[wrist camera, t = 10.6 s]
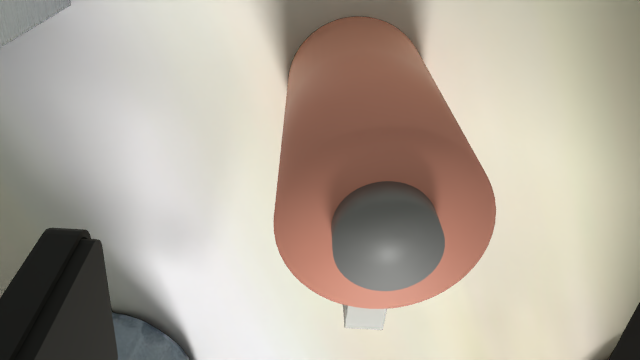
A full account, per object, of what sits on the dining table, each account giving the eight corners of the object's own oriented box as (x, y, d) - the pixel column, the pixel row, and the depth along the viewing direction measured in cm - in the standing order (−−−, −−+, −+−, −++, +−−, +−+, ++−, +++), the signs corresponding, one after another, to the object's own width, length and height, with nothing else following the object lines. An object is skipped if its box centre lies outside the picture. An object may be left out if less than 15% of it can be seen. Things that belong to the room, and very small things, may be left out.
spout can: (436, 23, 19) (536, 154, 11) (407, 170, 22) (467, 364, 14) (292, 10, 19) (277, 134, 10) (282, 161, 22) (265, 353, 13)
